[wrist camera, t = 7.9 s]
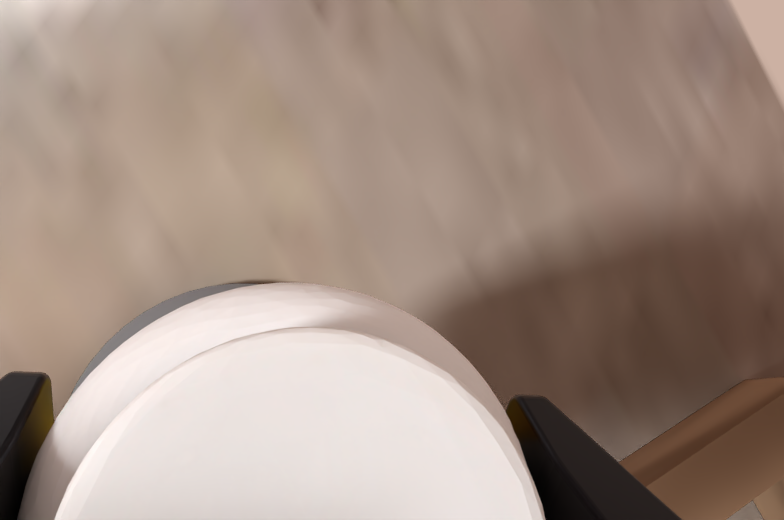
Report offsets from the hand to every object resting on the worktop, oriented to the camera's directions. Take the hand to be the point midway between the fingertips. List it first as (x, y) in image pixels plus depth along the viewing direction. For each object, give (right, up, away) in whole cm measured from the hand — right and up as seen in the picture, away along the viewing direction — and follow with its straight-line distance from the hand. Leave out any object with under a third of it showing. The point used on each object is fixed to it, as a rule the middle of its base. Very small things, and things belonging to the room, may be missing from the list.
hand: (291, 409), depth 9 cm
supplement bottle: (-1, -3, +6) cm, 7 cm away
